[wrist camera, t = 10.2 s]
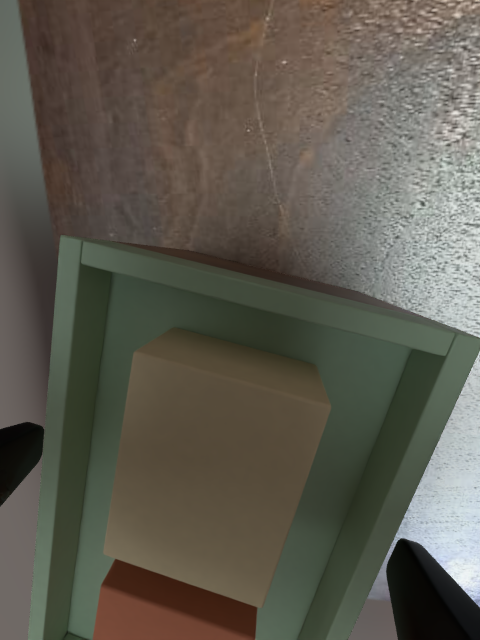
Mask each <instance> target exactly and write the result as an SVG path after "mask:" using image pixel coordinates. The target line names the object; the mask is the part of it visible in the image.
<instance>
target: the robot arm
mask: <svg viewBox="0 0 480 640" xmlns="http://www.w3.org/2000/svg"><path fill="white" fill-rule="evenodd" d="M43 440H44V429H43V427H42V426H40V425H37V424H34V423H30V422H25V423H21V424H17V425H14V426H10V427H6V428H3V429H0V506H1V505H2V504H3V503H4V502H5V501H6V499H7V498H8V497H9V496H10V495H11V494H12V492H13V491H14V490H15V489H16V488H17V487H18V485H19V484H20V483H21V482H22V481H23V479H24V478H25V477H26V476H27V475H28V474H29V473H30V471H31V470H32V469H33V468H34V467H35V466H36V464H37V463H38V462H39V460H40V458H41V456H42V452H43ZM386 574H387V581H388V587H389V592H390V598H391V603H392V608H393V614H394V620H395V625H396V631H397V637H398V640H480V607H479V606H478V605H477V604H476V603H475V602H474V601H473V600H472V599H471V598H470V597H469V596H468V595H467V593H466V592H465V591H464V590H463V589H462V588H461V587H460V586H459V585H458V584H457V583H456V582H455V581H454V579H453V578H452V577H451V576H450V575H449V574H448V573H447V572H446V571H445V570H444V569H443V568H442V567H441V565H440V564H439V563H438V562H437V561H436V560H435V559H434V558H433V557H432V556H431V555H430V554H429V553H428V551H427V550H426V549H425V548H424V547H423V546H422V545H420V544H419V543H417V542H413V541H410V540H407V539H400V540H398V542H397V544H396V546H395V548H394V550H393V552H392V555H391V557H390V559H389V561H388V564H387V569H386Z"/></svg>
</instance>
